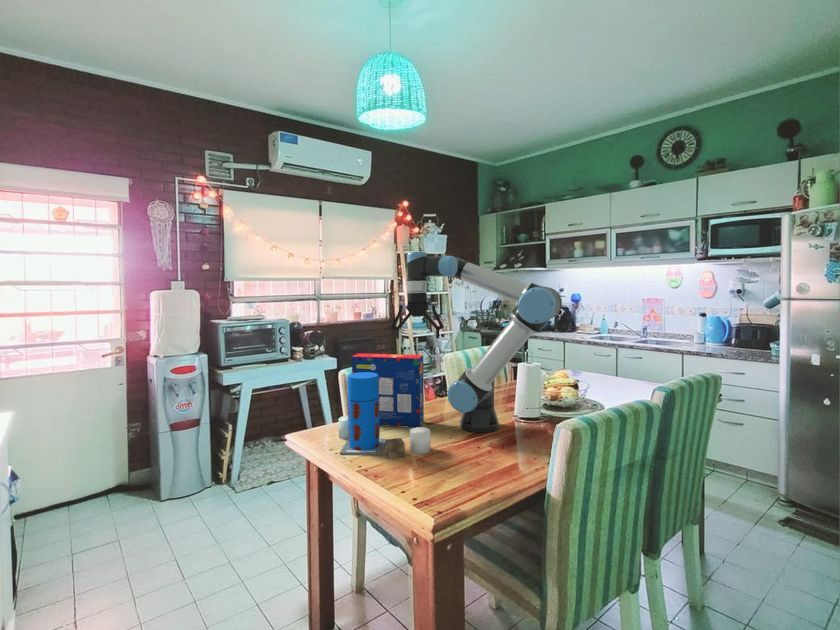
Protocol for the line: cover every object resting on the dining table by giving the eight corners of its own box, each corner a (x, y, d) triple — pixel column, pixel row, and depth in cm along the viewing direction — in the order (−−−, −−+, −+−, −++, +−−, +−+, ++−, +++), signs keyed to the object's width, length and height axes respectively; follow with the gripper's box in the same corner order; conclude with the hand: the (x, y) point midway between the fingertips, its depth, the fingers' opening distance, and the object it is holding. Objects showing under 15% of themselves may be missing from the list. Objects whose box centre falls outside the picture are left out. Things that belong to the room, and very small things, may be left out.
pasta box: (423, 421, 189) (423, 355, 187) (419, 427, 181) (418, 358, 179) (359, 418, 195) (358, 353, 193) (353, 423, 187) (351, 356, 185)
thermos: (370, 452, 154) (369, 379, 152) (343, 448, 157) (341, 377, 155) (384, 441, 164) (383, 373, 162) (358, 438, 168) (357, 371, 165)
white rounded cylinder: (430, 446, 160) (430, 427, 160) (430, 454, 153) (429, 434, 153) (411, 446, 161) (410, 427, 160) (409, 454, 154) (409, 433, 153)
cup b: (359, 433, 175) (359, 415, 174) (355, 439, 168) (355, 421, 168) (341, 433, 175) (341, 415, 175) (337, 439, 168) (336, 421, 168)
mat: (386, 440, 167) (386, 438, 167) (380, 455, 153) (380, 453, 153) (348, 439, 168) (348, 438, 168) (339, 454, 154) (339, 452, 154)
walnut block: (401, 452, 156) (400, 437, 155) (404, 457, 151) (404, 442, 150) (386, 453, 154) (386, 439, 154) (389, 459, 149) (389, 444, 149)
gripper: (449, 291, 178) (449, 345, 179) (386, 292, 179) (387, 345, 181) (449, 292, 170) (450, 348, 172) (383, 292, 172) (384, 348, 173)
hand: (417, 347), depth 176 cm, fingers open, 13 cm apart
